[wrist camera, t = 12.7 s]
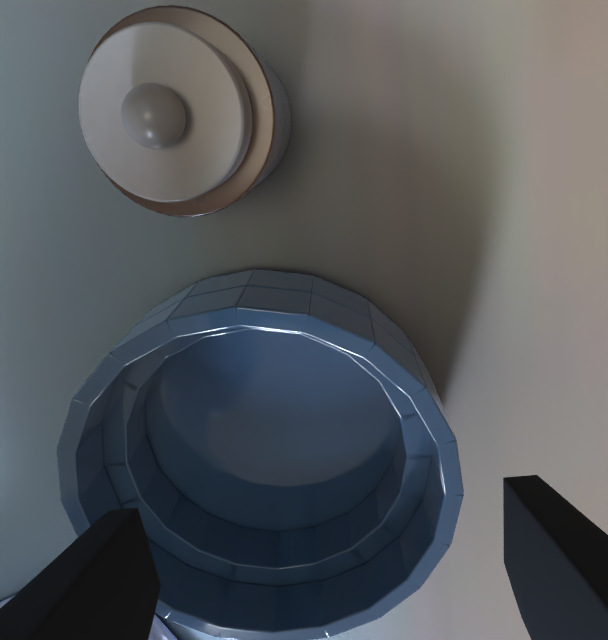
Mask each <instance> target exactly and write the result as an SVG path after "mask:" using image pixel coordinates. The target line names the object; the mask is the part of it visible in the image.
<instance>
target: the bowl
mask: <svg viewBox="0 0 608 640" xmlns="http://www.w3.org/2000/svg"><path fill="white" fill-rule="evenodd" d="M57 462H58V473H59V485H60V497H61V501H62V505H63V507H64V509H65V511H66V514H67V516H68V518H69V520H70V522H71V524H72V526H73V529H74V531H75V533H76V535H77V537H79V536H80V535H81V534H83V533H84V532H85V531H86V530H87V529H88V528H89V527H90V526H91V525H92V524H93V523H95V522H96V521H97V520H98V519H99V518H100V517H101V516H103V515H104V514H105V513H106V512H107V511H109V510H117V509H129V508H138V510H139V513H140V517H141V520H142V523H143V527H144V530H145V533H146V537H147V540H148V543H149V547H150V550H151V553H152V556H153V560H154V563H155V566H156V570H157V573H158V576H159V580H160V583H161V588H160V592H159V597H158V601H157V606H156V611H155V613H157V614H158V615H160V616H161V617H163V618H166V619H167V620H169V621H172V622H175V623H177V624H180V625H183V626H186V627H189V628H192V629H195V630H197V631H200V632H203V633H206V634H209V635H212V636H214V637H218V636H219V638H224V639H233V640H314V639H322V638H327V637H332V636H335V635H337V634H340V633H342V632H345V631H348V630H350V629H353V628H356V627H358V626H361V625H364V624H366V623H369V622H372V621H374V620H377V619H378V618H381V617H382V616H383V615H385V614H386V613H387V612H389V611H390V610H391V609H393V608H394V607H396V606H397V605H398V604H400V603H401V602H402V601H404V600H405V599H406V598H408V597H409V596H410V595H412V594H413V593H414V592H416V591H417V590H418V589H420V587H421V586H423V584H424V583H425V581H426V580H427V578H428V577H429V576H430V574H431V573H432V571H433V570H434V568H435V567H436V566H437V564H438V563H439V561H440V560H441V558H442V557H443V556H444V554H445V553H446V551H447V550H448V548H449V547H450V544H451V543H452V539H453V535H454V531H455V527H456V523H457V519H458V515H459V511H460V508H461V504H462V500H463V496H464V495H463V492H464V490H463V483H462V476H461V469H460V461H459V454H458V447H457V440H456V438H455V435H454V432H453V430H452V427H451V425H450V422H449V420H448V417H447V415H446V412H445V410H444V408H443V405H442V403H441V400H440V398H439V395H438V393H437V391H436V388H435V386H434V383H433V381H432V378H431V376H430V374H429V373H428V371H427V369H426V367H425V365H424V364H423V362H422V360H421V358H420V356H419V355H418V353H417V351H416V349H415V347H414V346H413V344H412V342H411V340H410V339H409V337H408V336H407V335H406V333H405V332H404V331H403V330H401V329H400V328H399V327H398V326H397V325H396V324H395V323H393V322H392V321H391V320H390V319H389V318H388V317H387V316H386V315H384V314H383V313H382V312H381V311H380V310H379V309H378V308H377V307H375V306H374V305H373V304H372V303H371V302H370V301H369V300H366V298H365V297H362V296H360V295H358V294H355V293H353V292H351V291H349V290H346V289H344V288H342V287H339V286H337V285H335V284H332V283H330V282H328V281H326V280H323V279H321V278H319V277H316V276H312V275H307V274H297V273H288V272H279V271H269V270H260V269H256V270H248V271H243V272H238V273H233V274H228V275H224V276H219V277H214V278H209V279H204V280H201V281H200V282H196V283H194V284H193V285H191V286H189V287H187V288H186V289H184V290H182V291H181V292H179V293H177V294H175V295H174V296H172V297H170V298H169V299H167V300H165V301H163V302H162V303H160V304H158V305H157V306H155V307H154V308H153V309H151V310H150V311H149V312H148V314H147V315H146V316H145V317H144V318H143V319H142V320H141V321H140V322H139V323H138V324H137V325H136V326H135V327H134V328H133V329H132V330H131V331H130V332H129V333H128V334H127V335H126V336H125V337H124V338H123V339H122V340H121V341H120V342H119V343H118V344H117V345H116V346H115V347H114V348H113V349H112V350H111V351H110V352H109V353H108V355H107V356H106V357H105V358H104V360H103V361H102V362H101V363H100V364H99V366H98V367H97V368H96V369H95V370H94V372H93V373H92V374H91V375H90V377H89V378H88V379H87V380H86V381H85V383H84V384H83V385H82V386H81V387H80V389H79V390H78V391H77V392H76V394H75V395H74V397H73V398H72V401H71V404H70V407H69V410H68V414H67V417H66V420H65V423H64V426H63V430H62V433H61V436H60V439H59V443H58V446H57Z"/></svg>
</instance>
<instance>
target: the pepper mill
mask: <svg viewBox="0 0 608 640" xmlns="http://www.w3.org/2000/svg"><path fill="white" fill-rule="evenodd" d="M78 111H79V119H80V125H81V129H82V132H83V136H84V138H85V141H86V143H87V146H88V148H89V150H90V152H91V153H92V155H93V157H94V159H95V160H96V162H97V164H98V166H99V167H100V168H101V170H102V171H103V173H104V174H105V175H106V177H107V178H108V179H109V180H110V181H111V182H112V184H113V185H114V186H115V187H116V188H117V189H119V190H120V191H121V192H122V193H123V194H124V195H126V196H127V197H128V198H130V199H131V200H133V201H134V202H136V203H137V204H139V205H141V206H143V207H145V208H147V209H150V210H152V211H155V212H157V213H161V214H165V215H169V216H177V217H196V216H203V215H207V214H211V213H214V212H217V211H219V210H221V209H224V208H226V207H228V206H229V205H231V204H233V203H234V202H236V201H237V200H238V199H240V198H241V197H242V196H244V195H245V194H246V193H247V192H249V191H250V190H251V189H252V188H254V187H255V186H256V185H257V184H259V183H260V182H261V181H262V180H264V179H265V178H266V177H267V176H268V175H270V174H271V172H272V171H273V170H274V169H275V168H276V167H277V165H278V164H279V162H280V161H281V159H282V157H283V155H284V153H285V151H286V148H287V145H288V142H289V138H290V133H291V110H290V104H289V100H288V97H287V94H286V91H285V89H284V86H283V84H282V83H281V81H280V79H279V77H278V76H277V74H276V73H275V72H274V70H273V69H272V68H271V67H270V66H269V65H268V64H267V63H266V62H265V61H264V60H263V59H262V58H261V57H260V56H259V55H258V54H257V53H256V52H255V51H254V49H253V48H252V47H251V46H250V45H249V44H248V43H247V42H246V41H245V40H244V39H243V38H242V37H241V36H240V35H239V34H238V33H237V32H236V31H234V30H233V29H232V28H231V27H229V26H228V25H227V24H226V23H224V22H222V21H221V20H219V19H217V18H216V17H214V16H212V15H209V14H207V13H205V12H202V11H200V10H196V9H193V8H189V7H183V6H174V5H169V6H156V7H151V8H146V9H143V10H140V11H138V12H135V13H133V14H131V15H129V16H127V17H125V18H124V19H122V20H121V21H119V22H118V23H117V24H115V25H114V26H113V27H112V28H111V29H110V30H109V31H108V32H107V33H106V34H105V35H104V36H103V37H102V38H101V40H100V41H99V43H98V44H97V45H96V47H95V48H94V50H93V52H92V54H91V56H90V58H89V60H88V63H87V66H86V67H85V70H84V73H83V76H82V79H81V83H80V88H79V97H78Z"/></svg>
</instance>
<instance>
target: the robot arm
mask: <svg viewBox="0 0 608 640" xmlns="http://www.w3.org/2000/svg"><path fill="white" fill-rule="evenodd" d="M504 564H505V567H506V570H507V573H508V576H509V580H510V583H511V586H512V589H513V592H514V595H515V598H516V601H517V605H518V608H519V611H520V614H521V617H522V619H523V621H524V624H525V626H526V628H527V631H528V633H529V635H530V637H531V640H608V535H607V534H606V533H605V532H604V531H602V530H601V529H600V528H599V527H597V526H596V525H595V524H594V523H593V522H591V521H590V520H589V519H588V518H587V517H586V516H584V515H583V514H582V513H581V512H580V511H578V510H577V509H576V508H575V507H574V506H573V505H571V504H570V503H569V502H568V501H567V500H566V499H564V498H563V497H562V496H561V495H560V494H559V493H557V492H556V491H555V490H554V489H553V488H552V487H550V486H549V485H548V484H547V483H546V482H545V481H543V480H542V479H541V478H540V477H539V476H537V475H531V476H519V477H506V478H504ZM160 588H161V583H160V580H159V576H158V573H157V570H156V566H155V563H154V560H153V556H152V553H151V550H150V547H149V543H148V540H147V537H146V533H145V530H144V527H143V523H142V520H141V517H140V513H139V510H138V508H129V509H117V510H109V511H107V512H106V513H105V514H104V515H103V516H101V517H100V518H99V519H98V520H97V521H96V522H95V523H93V524H92V525H91V526H90V527H89V528H88V529H87V530H86V531H85V532H84V533H83V534H81V535H80V536H79V537H78V538H77V539H76V540H75V541H74V542H73V543H72V544H71V545H70V546H69V547H67V548H66V549H65V550H64V551H63V552H62V553H61V554H60V555H59V556H58V557H57V558H56V559H55V560H53V561H52V562H51V563H50V564H49V565H48V566H47V567H46V568H45V569H44V570H43V571H41V572H40V573H39V574H38V575H37V576H36V577H35V578H34V579H33V580H32V581H31V582H29V583H28V584H27V585H26V586H25V587H24V588H23V589H22V590H21V591H20V592H18V593H17V594H16V595H14V596H12V597H10V598H8V599H6V600H4V601H2V602H0V640H177V638H176V637H175V636H174V635H173V634H172V633H171V632H170V631H169V629H168V628H167V627H166V626H165V625H164V624H163V623H162V622H161V621H160V619H159V618H158V617H157V616H156V615H155V611H156V606H157V601H158V597H159V592H160Z"/></svg>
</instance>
